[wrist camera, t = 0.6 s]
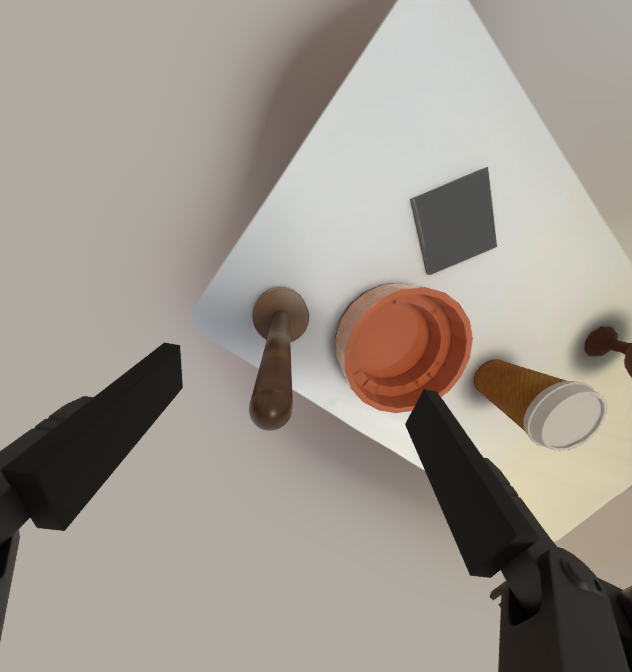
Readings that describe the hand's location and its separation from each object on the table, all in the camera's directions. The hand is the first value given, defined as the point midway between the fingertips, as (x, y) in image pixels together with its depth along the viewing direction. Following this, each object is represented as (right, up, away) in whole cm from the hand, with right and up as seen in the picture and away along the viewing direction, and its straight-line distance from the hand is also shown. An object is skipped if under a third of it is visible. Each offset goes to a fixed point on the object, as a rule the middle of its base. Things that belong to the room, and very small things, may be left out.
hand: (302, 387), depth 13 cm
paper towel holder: (-4, +6, +19) cm, 20 cm away
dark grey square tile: (+19, +18, +18) cm, 32 cm away
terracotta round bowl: (+12, +2, +22) cm, 25 cm away
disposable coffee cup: (+31, -4, +27) cm, 41 cm away
